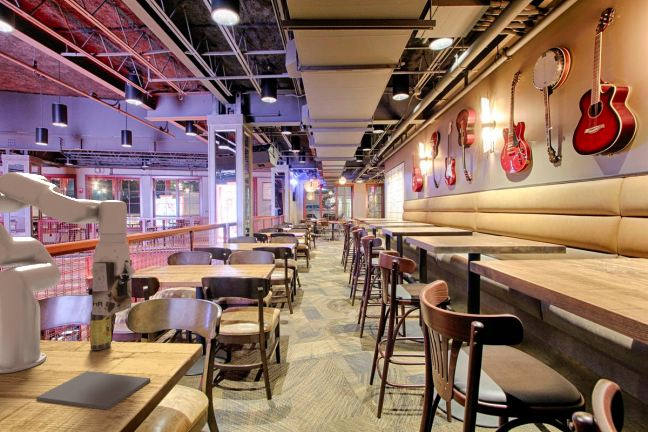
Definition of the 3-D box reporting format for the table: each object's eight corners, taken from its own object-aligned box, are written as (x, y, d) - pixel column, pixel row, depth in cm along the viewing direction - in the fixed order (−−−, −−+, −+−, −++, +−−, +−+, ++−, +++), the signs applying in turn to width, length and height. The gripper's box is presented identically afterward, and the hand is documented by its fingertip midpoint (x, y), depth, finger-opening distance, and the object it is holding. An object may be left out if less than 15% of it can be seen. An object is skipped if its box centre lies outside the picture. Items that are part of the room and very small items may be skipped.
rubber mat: (36, 400, 82) (36, 396, 82) (87, 373, 96) (87, 371, 96) (108, 409, 78) (108, 406, 78) (150, 380, 91) (150, 378, 91)
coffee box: (109, 316, 97) (109, 262, 97) (91, 314, 98) (91, 262, 98) (132, 307, 105) (132, 259, 106) (115, 306, 107) (116, 258, 107)
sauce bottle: (110, 349, 114) (110, 293, 114) (89, 352, 111) (88, 295, 111) (112, 343, 119) (111, 290, 120) (91, 346, 116) (91, 292, 116)
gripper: (79, 239, 100) (78, 296, 100) (126, 240, 96) (126, 299, 96) (100, 238, 107) (100, 291, 107) (145, 238, 104) (145, 293, 104)
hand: (112, 294), depth 102 cm, fingers closed on coffee box, 6 cm apart
